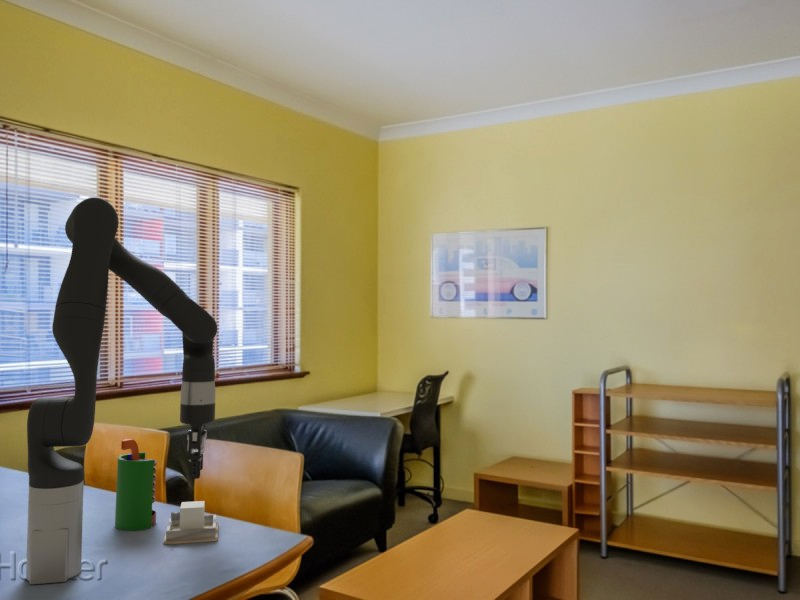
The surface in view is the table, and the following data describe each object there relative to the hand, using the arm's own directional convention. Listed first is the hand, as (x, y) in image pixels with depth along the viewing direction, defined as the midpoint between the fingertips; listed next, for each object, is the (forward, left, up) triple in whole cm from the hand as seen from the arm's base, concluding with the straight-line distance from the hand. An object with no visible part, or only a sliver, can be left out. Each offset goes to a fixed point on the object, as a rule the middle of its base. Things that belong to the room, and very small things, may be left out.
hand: (196, 474), depth 147 cm
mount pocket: (+1, +1, -14) cm, 14 cm away
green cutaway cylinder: (+11, +14, -14) cm, 22 cm away
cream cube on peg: (+1, +1, -13) cm, 13 cm away
